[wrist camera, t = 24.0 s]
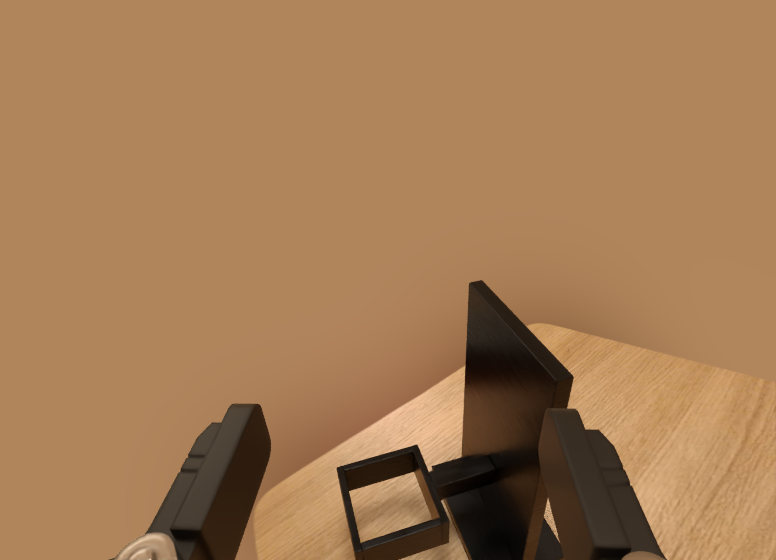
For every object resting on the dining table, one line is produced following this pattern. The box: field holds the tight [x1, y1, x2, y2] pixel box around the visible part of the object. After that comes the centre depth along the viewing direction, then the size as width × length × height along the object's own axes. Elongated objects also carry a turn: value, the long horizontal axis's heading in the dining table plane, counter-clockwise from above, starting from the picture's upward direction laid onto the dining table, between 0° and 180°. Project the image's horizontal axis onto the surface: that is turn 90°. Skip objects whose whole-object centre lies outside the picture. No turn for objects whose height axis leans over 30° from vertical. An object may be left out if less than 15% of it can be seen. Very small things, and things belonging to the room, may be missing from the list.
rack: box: [337, 280, 574, 560], centre depth 36 cm, size 18×12×23 cm
